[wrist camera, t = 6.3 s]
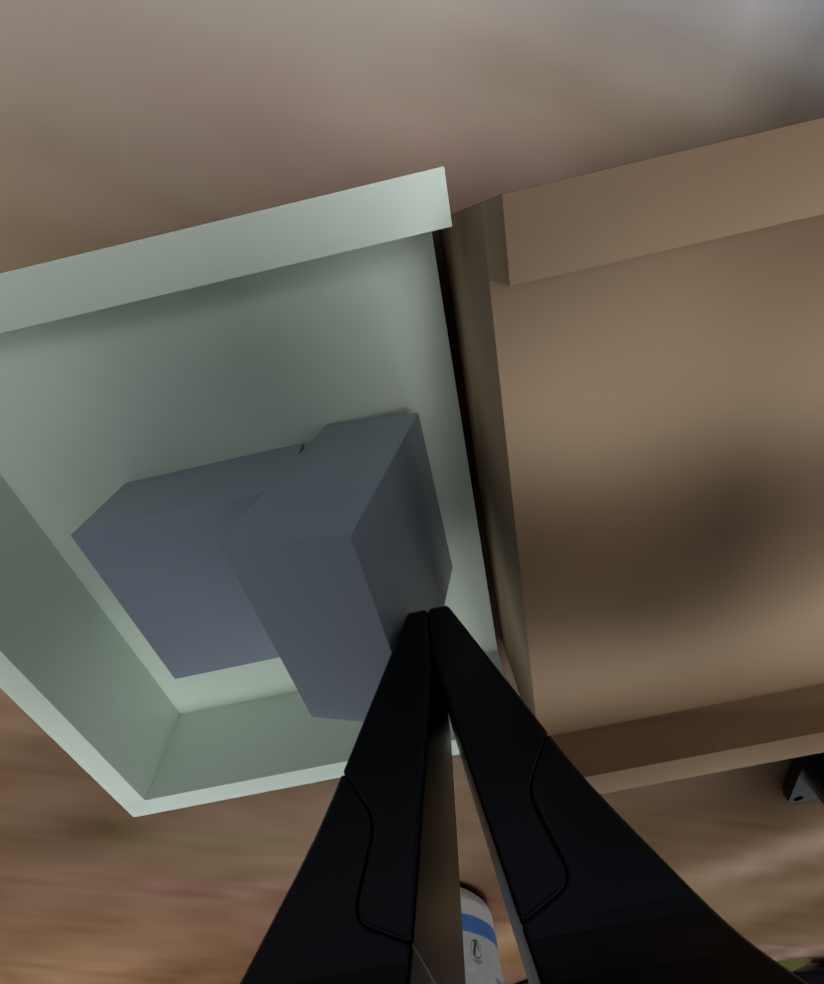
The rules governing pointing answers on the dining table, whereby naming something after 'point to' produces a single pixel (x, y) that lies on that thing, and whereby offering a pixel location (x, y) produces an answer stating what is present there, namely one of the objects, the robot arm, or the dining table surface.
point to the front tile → (344, 557)
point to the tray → (208, 461)
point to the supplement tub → (479, 941)
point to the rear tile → (185, 560)
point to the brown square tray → (656, 451)
